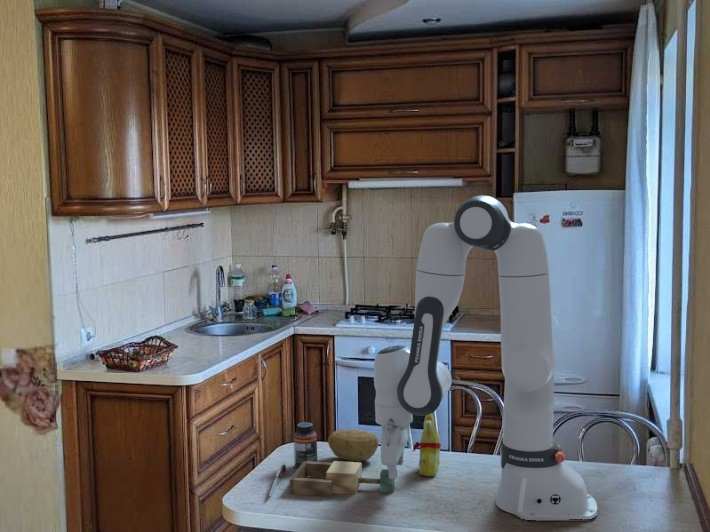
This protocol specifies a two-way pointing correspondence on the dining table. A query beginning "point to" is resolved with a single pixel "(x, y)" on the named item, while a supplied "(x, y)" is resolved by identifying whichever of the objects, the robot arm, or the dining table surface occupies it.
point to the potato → (353, 444)
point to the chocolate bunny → (429, 448)
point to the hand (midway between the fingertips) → (396, 470)
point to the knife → (278, 475)
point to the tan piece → (311, 486)
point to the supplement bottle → (305, 444)
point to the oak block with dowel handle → (355, 478)
